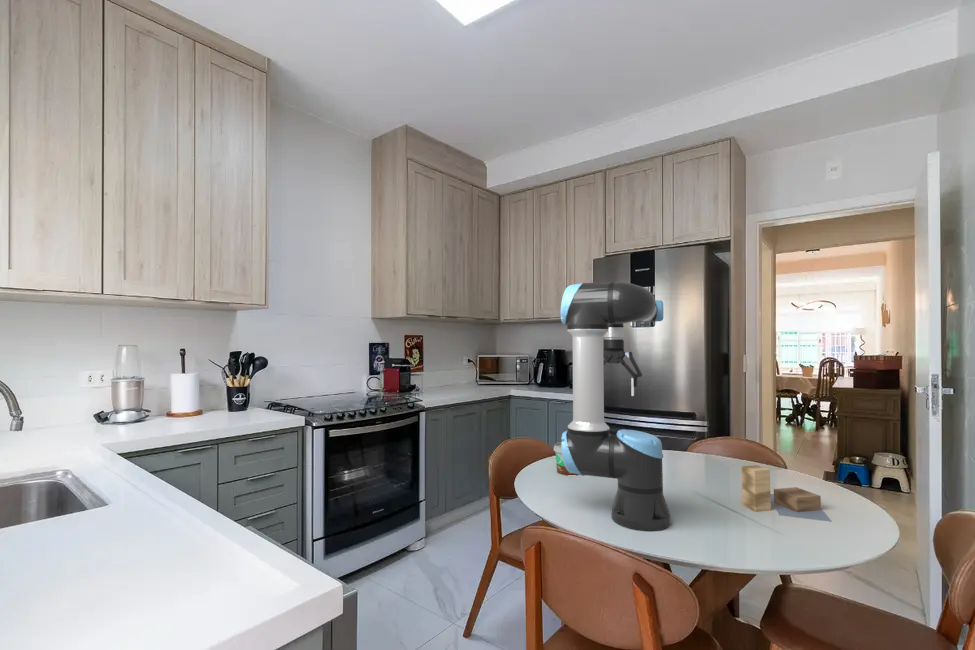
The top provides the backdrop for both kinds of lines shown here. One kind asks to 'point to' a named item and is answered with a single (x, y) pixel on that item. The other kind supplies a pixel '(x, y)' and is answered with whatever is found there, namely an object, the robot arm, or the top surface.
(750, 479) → the pillar block
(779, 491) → the base block
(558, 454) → the food container
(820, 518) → the blueprint mat
